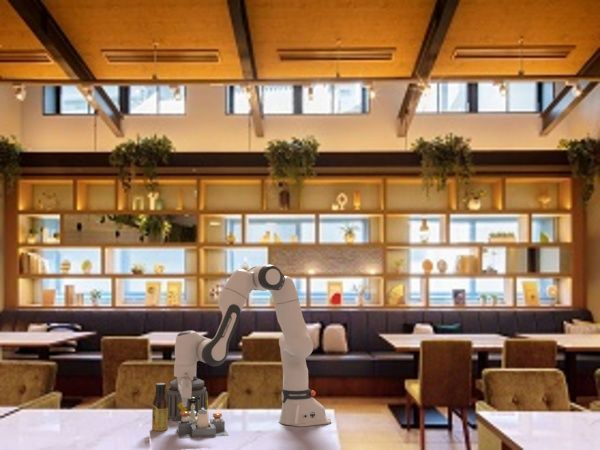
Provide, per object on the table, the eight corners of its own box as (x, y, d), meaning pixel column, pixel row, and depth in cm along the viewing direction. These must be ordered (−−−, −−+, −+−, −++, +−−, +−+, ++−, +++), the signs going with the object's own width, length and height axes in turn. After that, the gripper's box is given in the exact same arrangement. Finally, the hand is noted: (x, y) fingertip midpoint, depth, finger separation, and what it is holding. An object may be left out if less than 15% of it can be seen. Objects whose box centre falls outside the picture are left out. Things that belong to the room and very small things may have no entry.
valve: (197, 428, 275) (197, 398, 276) (182, 427, 277) (182, 398, 277) (202, 424, 282) (202, 396, 283) (187, 423, 283) (188, 395, 284)
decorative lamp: (204, 421, 287) (204, 351, 289) (160, 421, 287) (162, 351, 290) (210, 412, 306) (211, 347, 308) (170, 412, 306) (171, 346, 308)
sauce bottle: (153, 431, 269) (154, 382, 270) (168, 431, 269) (169, 381, 271) (150, 435, 262) (151, 384, 264) (166, 435, 263) (167, 384, 264)
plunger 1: (188, 424, 266) (189, 410, 266) (189, 426, 262) (189, 412, 263) (179, 425, 265) (180, 411, 265) (180, 427, 262) (180, 413, 262)
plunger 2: (221, 426, 269) (221, 412, 269) (222, 428, 266) (222, 414, 266) (212, 427, 268) (212, 413, 269) (213, 429, 265) (213, 415, 265)
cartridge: (196, 432, 261) (196, 407, 261) (207, 432, 262) (207, 407, 262) (197, 435, 256) (198, 410, 257) (209, 434, 257) (209, 409, 258)
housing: (223, 430, 271) (223, 418, 271) (228, 439, 256) (228, 426, 257) (176, 433, 266) (176, 420, 266) (179, 442, 252) (179, 429, 252)
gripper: (195, 375, 256) (194, 411, 255) (190, 367, 276) (189, 401, 275) (179, 375, 254) (178, 412, 253) (175, 368, 274) (174, 402, 273)
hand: (184, 406), depth 264 cm, fingers closed
